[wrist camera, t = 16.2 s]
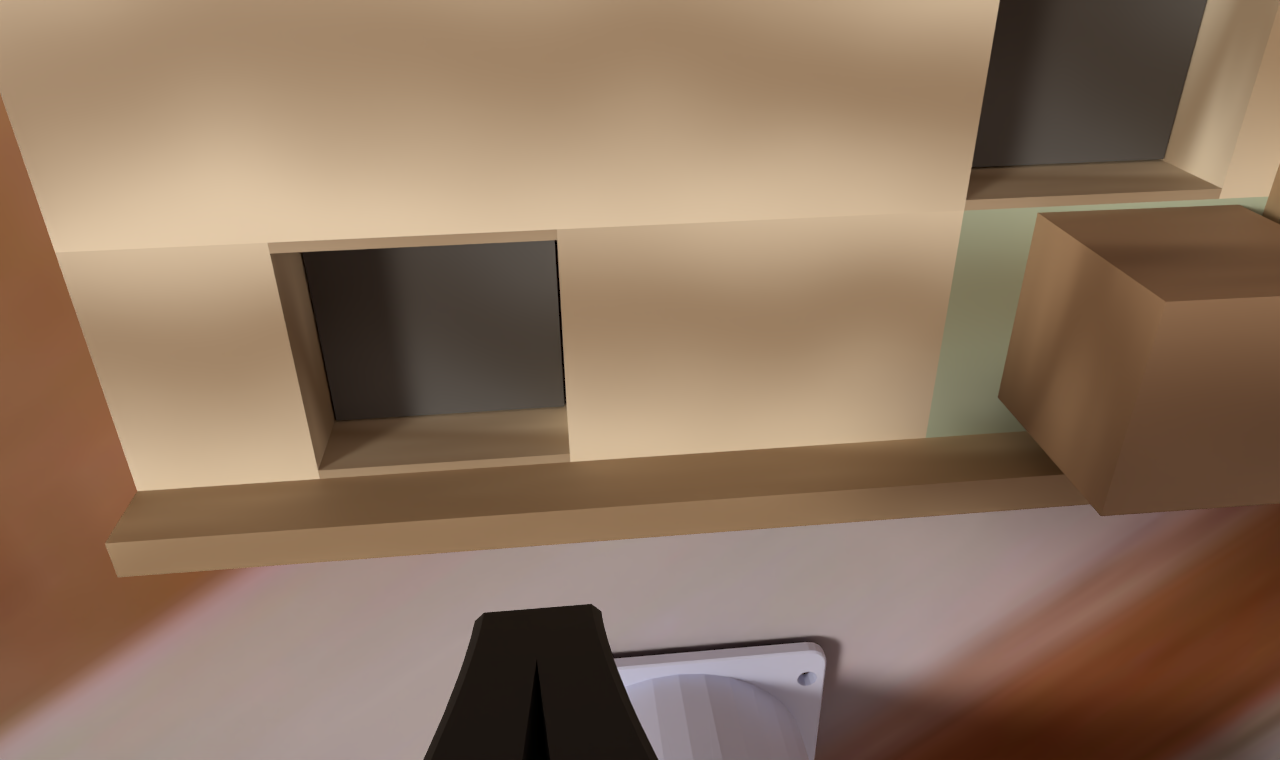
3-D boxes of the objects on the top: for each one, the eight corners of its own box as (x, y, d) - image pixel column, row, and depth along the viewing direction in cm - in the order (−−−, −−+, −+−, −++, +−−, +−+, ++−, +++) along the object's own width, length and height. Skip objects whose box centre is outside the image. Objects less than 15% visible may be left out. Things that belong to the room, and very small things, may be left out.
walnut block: (1178, 386, 20) (1319, 500, 16) (997, 397, 19) (1100, 516, 16) (1238, 204, 18) (1413, 289, 14) (1037, 212, 17) (1165, 302, 14)
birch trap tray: (1163, 402, 22) (1266, 491, 19) (181, 466, 20) (117, 576, 17) (1322, -105, 17) (1502, -97, 14) (10, -83, 15) (-127, -68, 12)
